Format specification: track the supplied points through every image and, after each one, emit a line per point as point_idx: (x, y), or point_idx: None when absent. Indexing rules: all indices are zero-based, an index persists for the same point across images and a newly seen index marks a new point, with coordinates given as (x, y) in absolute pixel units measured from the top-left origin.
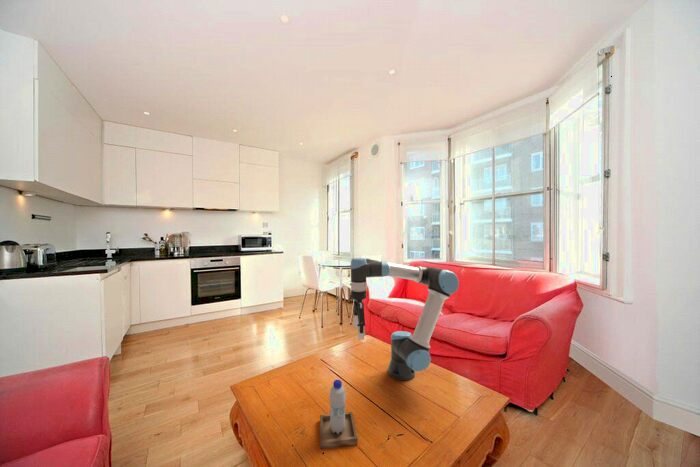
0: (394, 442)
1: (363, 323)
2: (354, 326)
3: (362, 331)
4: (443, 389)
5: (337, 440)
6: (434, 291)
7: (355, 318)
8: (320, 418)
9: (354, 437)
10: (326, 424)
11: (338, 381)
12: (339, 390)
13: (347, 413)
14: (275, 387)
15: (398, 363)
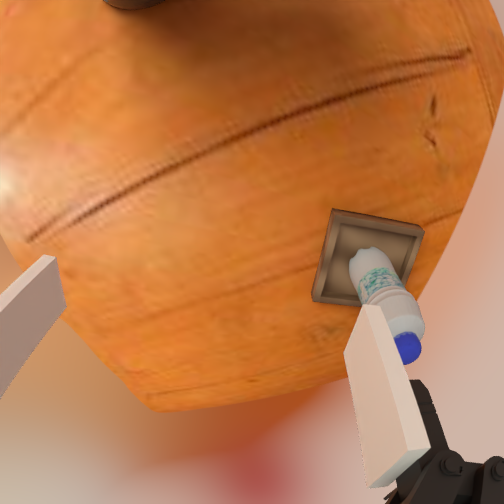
0: (447, 135)
1: (493, 494)
2: (56, 315)
3: (425, 404)
4: None
5: (407, 276)
6: None
7: (3, 368)
8: (325, 302)
9: (419, 237)
10: (337, 284)
11: (413, 355)
12: (419, 336)
13: (336, 230)
14: (155, 364)
15: None
